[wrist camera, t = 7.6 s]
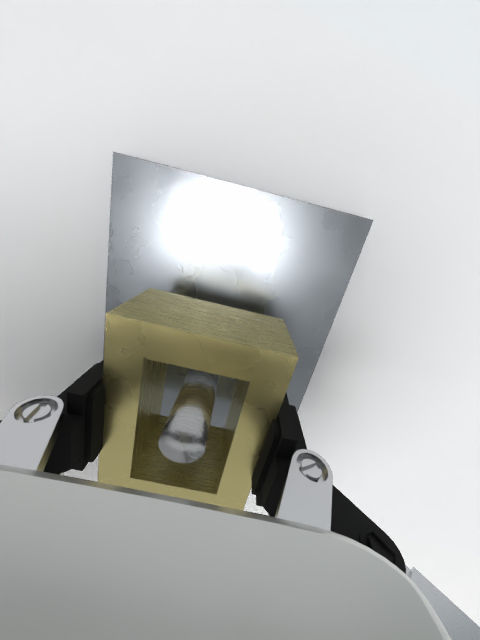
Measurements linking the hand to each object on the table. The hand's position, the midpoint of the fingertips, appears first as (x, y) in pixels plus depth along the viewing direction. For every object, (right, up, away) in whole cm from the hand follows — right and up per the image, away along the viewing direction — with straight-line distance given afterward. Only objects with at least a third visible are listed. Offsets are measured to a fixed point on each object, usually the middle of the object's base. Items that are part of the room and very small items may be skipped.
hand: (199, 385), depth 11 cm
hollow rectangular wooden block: (0, 0, 0) cm, 1 cm away
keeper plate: (0, +1, +3) cm, 4 cm away
